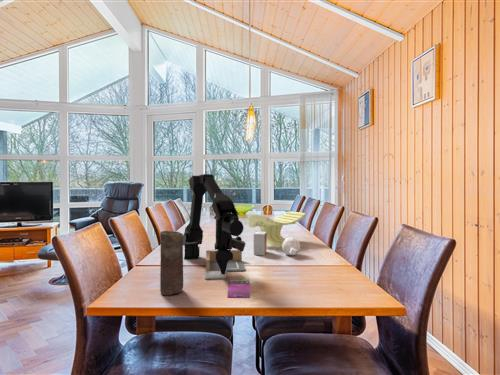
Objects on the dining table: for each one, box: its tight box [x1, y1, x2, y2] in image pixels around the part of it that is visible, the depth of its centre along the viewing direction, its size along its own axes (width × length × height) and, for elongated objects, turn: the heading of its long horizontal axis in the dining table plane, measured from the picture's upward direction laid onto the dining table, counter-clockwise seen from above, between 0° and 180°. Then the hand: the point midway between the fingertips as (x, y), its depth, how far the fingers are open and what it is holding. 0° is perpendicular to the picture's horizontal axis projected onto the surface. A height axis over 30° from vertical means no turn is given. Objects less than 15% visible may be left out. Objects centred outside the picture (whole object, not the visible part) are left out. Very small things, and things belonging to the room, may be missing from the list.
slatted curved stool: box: [248, 210, 307, 249], centre depth 171 cm, size 30×16×18 cm, turn 126°
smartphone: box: [227, 279, 251, 299], centre depth 100 cm, size 7×15×1 cm, turn 1°
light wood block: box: [204, 268, 227, 280], centre depth 112 cm, size 8×4×7 cm, turn 98°
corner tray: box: [205, 249, 247, 273], centre depth 126 cm, size 16×16×5 cm
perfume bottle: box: [281, 236, 301, 257], centre depth 145 cm, size 9×9×12 cm
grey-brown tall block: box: [159, 230, 184, 296], centre depth 97 cm, size 8×7×20 cm
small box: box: [253, 231, 267, 256], centre depth 149 cm, size 8×6×10 cm
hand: (223, 272), depth 113 cm, fingers closed on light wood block, 4 cm apart
